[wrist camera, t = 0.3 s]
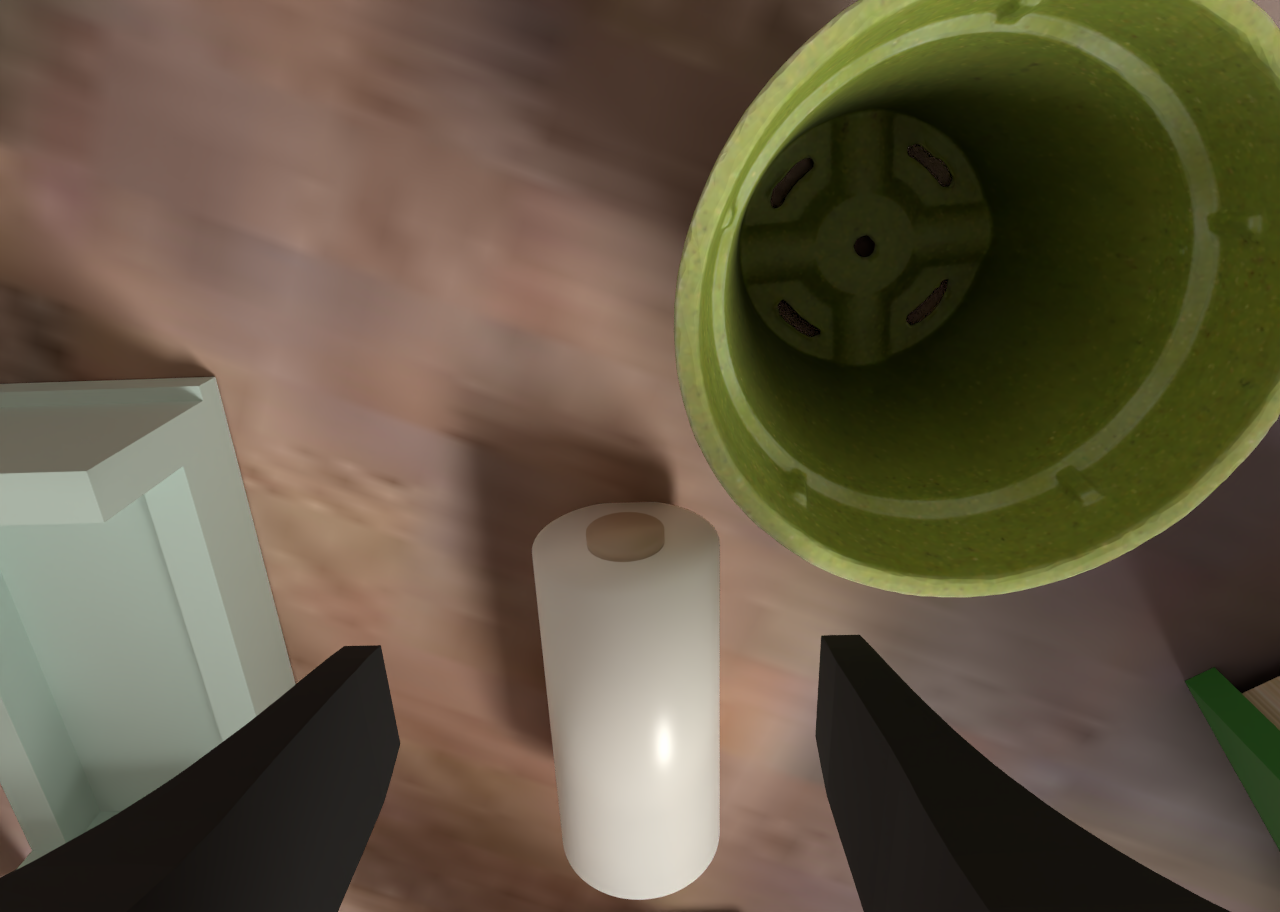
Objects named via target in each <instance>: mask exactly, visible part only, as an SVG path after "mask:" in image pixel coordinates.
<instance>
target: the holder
mask: <svg viewBox="0 0 1280 912" xmlns="http://www.w3.org/2000/svg"><path fill="white" fill-rule="evenodd" d="M295 685H296V684H295V680H294V676H293V672H292V668H291V665H290V661H289V657H288V653H287V649H286V645H285V642H284V638H283V634H282V630H281V626H280V623H279V619H278V615H277V611H276V607H275V603H274V600H273V596H272V592H271V588H270V584H269V580H268V577H267V573H266V569H265V565H264V561H263V557H262V554H261V550H260V546H259V542H258V538H257V534H256V531H255V527H254V523H253V519H252V515H251V511H250V508H249V504H248V500H247V496H246V492H245V489H244V485H243V481H242V477H241V473H240V469H239V466H238V462H237V458H236V454H235V450H234V446H233V443H232V439H231V435H230V431H229V427H228V423H227V420H226V416H225V412H224V408H223V404H222V400H221V397H220V393H219V389H218V385H217V381H216V378H215V377H193V378H164V379H134V380H104V381H74V382H44V383H14V384H0V783H1V785H2V788H3V790H4V792H5V794H6V796H7V798H8V800H9V802H10V805H11V807H12V809H13V811H14V813H15V815H16V817H17V819H18V822H19V824H20V826H21V828H22V830H23V832H24V834H25V836H26V838H27V841H28V843H29V845H30V847H31V849H32V852H31V853H30V854H29V855H28V856H27V858H26V859H25V860H24V861H23V862H22V863H21V864H20V866H19V867H18V868H17V869H19V868H21V867H23V866H25V865H27V864H29V863H31V862H33V861H34V860H36V859H38V858H40V857H42V856H44V855H45V854H47V853H49V852H51V851H52V850H54V849H56V848H58V847H60V846H61V845H63V844H65V843H67V842H69V841H70V840H72V839H74V838H76V837H78V836H79V835H81V834H83V833H85V832H86V831H88V830H90V829H92V828H94V827H95V826H97V825H99V824H101V823H103V822H104V821H106V820H108V819H109V818H111V817H113V816H114V815H116V814H118V813H119V812H121V811H123V810H124V809H126V808H127V807H129V806H130V805H132V804H134V803H135V802H137V801H138V800H140V799H142V798H143V797H145V796H146V795H148V794H149V793H151V792H153V791H154V790H156V789H157V788H159V787H160V786H162V785H163V784H165V783H166V782H168V781H169V780H171V779H172V778H174V777H175V776H177V775H178V774H179V773H181V772H182V771H184V770H185V769H187V768H188V767H189V766H191V765H192V764H194V763H195V762H196V761H198V760H199V759H200V758H202V757H203V756H204V755H206V754H207V753H208V752H210V751H211V750H212V749H214V748H215V747H216V746H218V745H219V744H221V743H222V742H223V741H225V740H226V739H227V738H229V737H230V736H231V735H233V734H234V733H235V732H237V731H238V730H239V729H241V728H242V727H243V726H245V725H246V724H247V723H249V722H250V721H251V720H252V719H254V718H255V717H256V716H257V715H259V714H260V713H261V712H262V711H264V710H265V709H266V708H267V707H269V706H270V705H271V704H272V703H274V702H275V701H276V700H277V699H279V698H280V697H281V696H282V695H284V694H285V693H286V692H287V691H288V690H290V689H291V688H292V687H293V686H295ZM17 869H16V870H17Z"/></svg>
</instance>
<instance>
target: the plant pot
mask: <svg viewBox="0 0 1280 912" xmlns="http://www.w3.org/2000/svg"><path fill="white" fill-rule="evenodd" d="M914 144H920V145H922V146H923V147H924V148H925V149H926V150H927V151H928V152H930V154H931V155H932V156H934V157H935V158H939V159H941V160H942V161H943V162H944V163H945V164H946V166H947V167H948V169H949V170H950V172H951V174H952V181H951V184H950V186H948V187H942V186H941V185H940V184H939V183H938V180H937V179H935V178H934V177H933V176H932V174H931V173H930V172H929V171H928V170H927V169H926V168H925V167H924V166H923V165H922V164H921V163H919V162H918V161H917V160H916V159H914V158H912V157H910V156H909V155H908V147H909V146H912V145H914ZM805 158H811V159H812V160H813V161H814V166H813V168H812V169H811V170H810V171H809V172H808V173H806V174H805V175H804V176H803V177H802V178H801V179H800V180H799V181H798V182H797V184H796V185H795V186H794V187H793V188H792V189H791V191H790V192H789V193H788V195H787V196H786V198H785V201H784V203H783V204H782V205H781V206H780V207H778V208H774V209H773V207H772V206H771V200H770V199H771V196H772V191H773V189H774V187H775V186H776V185H777V184H778V183H779V182H780V181H781V180H782V179H783V178H784V177H785V175H786V174H787V173H788V171H789V170H790V169H791V168H792V167H793V166H794V165H795V164H796V163H797V162H799V161H801V160H802V159H805ZM862 236H869V237H870V238H871V240H873V241H874V243H875V249H874V251H873V253H872V254H871V255H870V256H868V257H861V256H859V255H858V254H857V253H856V251H855V249H854V244H855V242H856V240H857V239H858V238H860V237H862ZM945 279H946V280H948V282H947V289H946V292H945V293H944V295H943V297H942V299H941V301H940V302H939V304H938V305H937V307H936V308H935V309H934V310H933V311H932V313H931V314H929V315H928V316H927V317H926V318H924V319H923V320H922V321H920V322H918V323H915V324H912V325H910V324H909V323H908V322H906V318H907V315H908V314H909V313H910V312H912V311H914V310H915V309H916V308H917V307H918V306H919V305H920V304H921V303H923V302H924V300H926V299H927V298H928V296H930V295H931V294H932V292H933V290H934V289H935V288H939V287H940V285H941V284H940V283H941V282H942V281H943V280H945ZM781 300H784V301H786V302H787V303H788V304H789V305H790V306H791V307H792V308H793V309H794V310H795V311H796V312H797V313H798V314H799V315H800V316H801V317H802V318H803V319H805V320H806V321H808V323H809V324H812V325H814V326H815V327H817V328H818V329H819V330H820V334H819V335H815V336H812V337H808V336H806V335H805V334H803V333H801V332H799V331H798V330H797V329H795V328H794V327H793V326H791V325H790V324H789V323H787V322H786V321H785V320H784V319H783V317H782V316H780V315H779V309H778V304H779V303H780V301H781ZM674 341H675V356H676V368H677V374H678V379H679V385H680V390H681V394H682V398H683V403H684V406H685V410H686V413H687V416H688V419H689V423H690V426H691V428H692V431H693V433H694V436H695V438H696V441H697V443H698V445H699V447H700V449H701V451H702V452H703V454H704V456H705V458H706V460H707V462H708V464H709V466H710V468H711V469H712V471H713V473H714V474H715V476H716V477H717V479H718V480H719V482H720V483H721V485H722V486H723V487H724V489H725V490H726V491H727V493H728V494H729V496H730V497H731V498H732V499H733V501H734V502H735V503H736V504H737V505H738V506H739V507H740V508H741V509H742V510H743V511H744V513H745V514H746V515H747V516H748V517H749V518H750V519H751V520H752V521H753V522H754V523H755V524H756V525H757V526H758V527H760V528H761V529H762V530H764V531H765V532H766V533H767V534H769V535H770V536H771V537H773V538H774V539H775V540H776V541H777V542H779V543H780V544H781V545H783V546H784V547H786V548H787V549H789V550H790V551H792V552H793V553H795V554H797V555H798V556H800V557H801V558H802V559H804V560H805V561H807V562H809V563H811V564H813V565H815V566H817V567H819V568H821V569H823V570H825V571H827V572H829V573H832V574H834V575H837V576H839V577H842V578H844V579H847V580H850V581H853V582H856V583H860V584H863V585H867V586H870V587H874V588H878V589H882V590H886V591H892V592H897V593H901V594H908V595H916V596H935V597H975V596H987V595H998V594H1005V593H1010V592H1016V591H1022V590H1026V589H1030V588H1034V587H1038V586H1042V585H1046V584H1049V583H1053V582H1057V581H1060V580H1063V579H1066V578H1070V577H1073V576H1075V575H1078V574H1080V573H1083V572H1085V571H1088V570H1091V569H1094V568H1096V567H1098V566H1100V565H1102V564H1105V563H1107V562H1109V561H1111V560H1113V559H1115V558H1117V557H1119V556H1121V555H1123V554H1125V553H1127V552H1129V551H1131V550H1133V549H1135V548H1136V547H1138V546H1139V545H1141V544H1142V543H1144V542H1146V541H1147V540H1149V539H1151V538H1153V537H1154V536H1156V535H1158V534H1160V533H1162V532H1163V531H1165V530H1166V529H1168V528H1169V527H1171V526H1172V525H1173V524H1175V523H1176V522H1178V521H1179V520H1181V519H1182V518H1184V517H1185V516H1186V515H1187V514H1189V513H1190V512H1191V511H1192V510H1193V509H1194V508H1195V507H1197V506H1198V505H1199V504H1200V503H1201V502H1202V501H1204V500H1205V499H1206V498H1207V497H1208V496H1209V495H1210V494H1211V493H1212V492H1213V491H1214V490H1215V489H1216V488H1217V487H1218V486H1219V485H1220V484H1221V483H1222V482H1224V481H1225V480H1226V479H1227V478H1228V477H1229V476H1230V475H1231V473H1232V472H1233V471H1234V470H1235V469H1236V468H1237V467H1238V466H1239V465H1240V464H1241V463H1242V462H1243V461H1245V459H1246V458H1247V457H1248V456H1249V455H1250V453H1251V452H1252V451H1253V450H1254V449H1255V448H1256V447H1257V445H1258V444H1259V443H1260V442H1261V440H1262V439H1263V438H1264V437H1265V435H1266V434H1267V432H1268V431H1269V429H1270V427H1271V426H1272V425H1273V424H1274V423H1275V422H1276V421H1277V419H1278V417H1279V414H1280V30H1279V28H1278V27H1277V26H1276V24H1275V23H1274V22H1273V20H1272V19H1271V18H1270V17H1269V16H1268V14H1267V13H1266V12H1265V11H1264V10H1263V9H1261V8H1260V7H1259V6H1258V5H1256V4H1255V3H1254V2H1253V1H1252V0H858V1H857V2H855V3H854V4H852V5H851V6H849V7H848V8H846V9H845V10H843V11H842V12H840V13H839V14H838V15H837V16H836V17H834V18H833V19H832V20H831V21H830V22H828V23H827V24H826V25H825V26H824V27H822V28H821V29H820V30H819V31H818V32H816V33H815V34H814V35H813V36H812V37H811V38H810V39H808V40H807V41H806V42H805V43H804V44H803V45H802V46H801V47H800V48H799V49H798V50H797V51H796V52H795V53H794V54H793V55H792V56H791V57H790V58H789V59H788V60H787V61H786V62H785V63H784V64H783V65H782V66H781V68H780V69H779V70H778V71H777V72H776V73H775V74H774V75H773V77H772V78H771V79H770V80H769V81H768V83H767V84H766V85H765V86H764V88H763V89H762V90H761V91H760V93H759V94H758V95H757V96H756V98H755V99H754V100H753V102H752V103H751V104H750V105H749V107H748V108H747V109H746V111H745V112H744V114H743V115H742V117H741V119H740V120H739V122H738V124H737V125H736V127H735V129H734V130H733V132H732V133H731V135H730V137H729V138H728V140H727V142H726V143H725V145H724V147H723V149H722V151H721V153H720V154H719V156H718V158H717V160H716V162H715V164H714V166H713V168H712V170H711V172H710V175H709V177H708V180H707V182H706V185H705V187H704V189H703V192H702V194H701V197H700V199H699V202H698V204H697V207H696V209H695V212H694V214H693V217H692V220H691V223H690V226H689V230H688V233H687V236H686V239H685V243H684V248H683V252H682V257H681V262H680V266H679V271H678V276H677V285H676V295H675V304H674Z"/></svg>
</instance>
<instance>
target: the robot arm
mask: <svg viewBox="0 0 1280 912" xmlns="http://www.w3.org/2000/svg"><path fill="white" fill-rule="evenodd" d="M816 741H817V747H818V752H819V758H820V763H821V768H822V773H823V778H824V783H825V788H826V793H827V797H828V800H829V804H830V807H831V810H832V813H833V817H834V820H835V823H836V826H837V829H838V832H839V836H840V839H841V842H842V845H843V848H844V851H845V854H846V858H847V861H848V864H849V867H850V870H851V873H852V876H853V879H854V882H855V885H856V889H857V892H858V895H859V898H860V901H861V904H862V907H863V910H864V912H1230V911H1228V910H1226V909H1224V908H1222V907H1220V906H1218V905H1215V904H1213V903H1211V902H1209V901H1208V900H1206V899H1204V898H1202V897H1200V896H1198V895H1196V894H1194V893H1192V892H1191V891H1189V890H1187V889H1185V888H1183V887H1181V886H1180V885H1178V884H1176V883H1174V882H1172V881H1170V880H1169V879H1167V878H1165V877H1163V876H1161V875H1159V874H1158V873H1156V872H1154V871H1152V870H1150V869H1149V868H1147V867H1145V866H1143V865H1142V864H1140V863H1138V862H1137V861H1135V860H1133V859H1131V858H1130V857H1128V856H1126V855H1125V854H1123V853H1121V852H1119V851H1118V850H1116V849H1114V848H1113V847H1111V846H1110V845H1108V844H1107V843H1105V842H1103V841H1102V840H1100V839H1099V838H1097V837H1096V836H1094V835H1092V834H1091V833H1089V832H1088V831H1086V830H1085V829H1083V828H1081V827H1080V826H1078V825H1077V824H1075V823H1074V822H1072V821H1071V820H1069V819H1068V818H1066V817H1065V816H1063V815H1062V814H1060V813H1059V812H1057V811H1056V810H1054V809H1053V808H1051V807H1050V806H1049V805H1047V804H1046V803H1044V802H1043V801H1042V800H1040V799H1039V798H1038V797H1036V796H1035V795H1034V794H1032V793H1031V792H1029V791H1028V790H1027V789H1025V788H1024V787H1023V786H1021V785H1020V784H1019V783H1017V782H1016V781H1015V780H1013V779H1012V778H1011V777H1009V776H1008V775H1007V774H1005V773H1004V772H1003V771H1002V770H1000V769H999V768H998V767H997V766H995V765H994V764H993V763H992V762H990V761H989V760H988V759H987V758H986V757H984V756H983V755H982V754H981V753H980V752H979V751H977V750H976V749H975V748H974V747H973V746H972V745H970V744H969V743H968V742H967V741H966V740H965V739H963V738H962V737H961V736H960V735H959V734H958V733H957V732H956V731H954V730H953V729H952V728H951V727H950V726H949V725H948V724H947V723H946V722H945V721H944V720H943V719H942V718H941V717H940V716H939V715H938V714H937V713H935V712H934V711H933V710H932V709H931V708H930V707H929V706H928V705H927V704H926V703H925V702H924V701H923V700H922V699H921V698H920V697H919V696H918V695H917V694H916V693H915V692H914V691H913V690H912V689H911V688H910V687H909V686H908V685H907V684H906V683H905V682H904V681H903V680H902V679H901V678H900V677H899V676H898V674H897V673H896V672H895V671H894V670H893V669H892V668H891V667H890V666H889V665H888V664H887V663H886V662H885V661H884V660H883V659H882V658H881V657H880V655H879V654H878V653H877V652H876V651H875V650H874V649H873V648H872V647H871V646H870V645H869V644H868V643H867V642H866V641H865V640H864V639H863V638H862V637H861V636H860V635H828V636H821V651H820V668H819V685H818V702H817V719H816ZM399 746H400V740H399V735H398V730H397V725H396V720H395V715H394V710H393V705H392V700H391V695H390V690H389V685H388V680H387V675H386V670H385V665H384V660H383V654H382V649H381V645H378V646H344V647H343V648H341V649H340V650H339V651H337V652H336V653H334V654H333V655H332V656H330V657H329V658H328V659H327V660H325V661H324V662H323V663H322V664H320V665H319V666H318V667H317V668H315V669H314V670H313V671H312V672H310V673H309V674H308V675H307V676H306V677H304V678H303V679H302V680H301V681H299V682H298V683H297V684H296V685H295V686H293V687H292V688H291V689H290V690H288V691H287V692H286V693H285V694H284V695H282V696H281V697H280V698H279V699H277V700H276V701H275V702H274V703H272V704H271V705H270V706H269V707H267V708H266V709H265V710H264V711H262V712H261V713H260V714H259V715H257V716H256V717H255V718H254V719H252V720H251V721H250V722H249V723H247V724H246V725H245V726H243V727H242V728H241V729H239V730H238V731H237V732H235V733H234V734H233V735H231V736H230V737H229V738H227V739H226V740H225V741H223V742H222V743H221V744H219V745H218V746H216V747H215V748H214V749H212V750H211V751H210V752H208V753H207V754H206V755H204V756H203V757H202V758H200V759H199V760H198V761H196V762H195V763H194V764H192V765H191V766H189V767H188V768H187V769H185V770H184V771H182V772H181V773H179V774H178V775H177V776H175V777H174V778H172V779H171V780H169V781H168V782H166V783H165V784H163V785H162V786H160V787H159V788H157V789H156V790H154V791H153V792H151V793H149V794H148V795H146V796H145V797H143V798H142V799H140V800H138V801H137V802H135V803H134V804H132V805H130V806H129V807H127V808H126V809H124V810H123V811H121V812H119V813H118V814H116V815H114V816H113V817H111V818H109V819H108V820H106V821H104V822H103V823H101V824H99V825H97V826H95V827H94V828H92V829H90V830H88V831H86V832H85V833H83V834H81V835H79V836H78V837H76V838H74V839H72V840H70V841H69V842H67V843H65V844H63V845H61V846H60V847H58V848H56V849H54V850H52V851H51V852H49V853H47V854H45V855H44V856H42V857H40V858H38V859H36V860H34V861H33V862H31V863H29V864H27V865H25V866H23V867H21V868H19V869H17V870H15V871H13V872H11V873H9V874H7V875H5V876H3V877H1V878H0V912H338V910H339V907H340V905H341V903H342V900H343V898H344V896H345V893H346V891H347V889H348V886H349V884H350V882H351V879H352V877H353V875H354V872H355V870H356V868H357V865H358V863H359V861H360V858H361V856H362V854H363V851H364V849H365V847H366V844H367V842H368V840H369V837H370V835H371V832H372V830H373V828H374V825H375V823H376V820H377V818H378V816H379V813H380V811H381V808H382V806H383V803H384V800H385V797H386V793H387V790H388V787H389V783H390V780H391V776H392V773H393V769H394V765H395V761H396V758H397V754H398V750H399Z"/></svg>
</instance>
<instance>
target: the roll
mask: <svg viewBox="0 0 1280 912" xmlns="http://www.w3.org/2000/svg"><path fill="white" fill-rule="evenodd" d="M532 559H533V568H534V578H535V587H536V596H537V606H538V615H539V624H540V634H541V643H542V652H543V662H544V671H545V680H546V690H547V699H548V708H549V718H550V727H551V736H552V746H553V755H554V764H555V774H556V783H557V793H558V802H559V811H560V821H561V830H562V839H563V847H564V851H565V854H566V857H567V859H568V861H569V863H570V865H571V866H572V868H573V869H574V871H575V872H576V873H577V874H578V875H579V876H580V878H581V879H582V880H584V881H585V882H586V883H587V884H589V885H590V886H592V887H593V888H595V889H597V890H599V891H601V892H603V893H606V894H608V895H611V896H615V897H618V898H624V899H633V900H644V899H654V898H658V897H663V896H666V895H669V894H672V893H675V892H677V891H679V890H681V889H683V888H685V887H686V886H688V885H689V884H691V883H692V882H693V881H695V880H696V879H697V878H698V877H699V876H700V875H701V874H702V873H703V872H704V871H705V870H706V868H707V867H708V866H709V864H710V863H711V861H712V859H713V857H714V855H715V853H716V850H717V846H718V843H719V834H720V543H719V536H718V534H717V531H716V530H715V528H714V527H713V526H712V525H711V524H710V523H709V522H708V521H707V520H706V519H704V518H703V517H702V516H700V515H698V514H696V513H694V512H692V511H690V510H688V509H685V508H682V507H679V506H675V505H671V504H666V503H660V502H628V503H601V504H596V505H591V506H587V507H583V508H580V509H577V510H574V511H572V512H569V513H567V514H565V515H563V516H561V517H559V518H557V519H555V520H554V521H552V522H551V523H549V524H548V525H547V526H545V527H544V528H543V529H542V530H541V531H540V532H539V534H538V535H537V537H536V538H535V540H534V543H533V545H532Z"/></svg>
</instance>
